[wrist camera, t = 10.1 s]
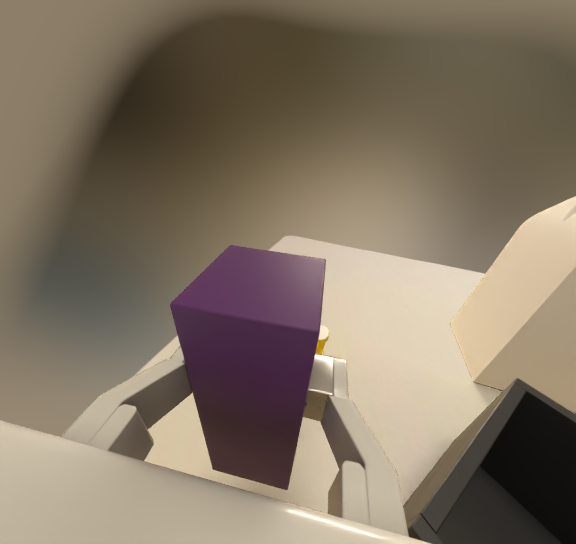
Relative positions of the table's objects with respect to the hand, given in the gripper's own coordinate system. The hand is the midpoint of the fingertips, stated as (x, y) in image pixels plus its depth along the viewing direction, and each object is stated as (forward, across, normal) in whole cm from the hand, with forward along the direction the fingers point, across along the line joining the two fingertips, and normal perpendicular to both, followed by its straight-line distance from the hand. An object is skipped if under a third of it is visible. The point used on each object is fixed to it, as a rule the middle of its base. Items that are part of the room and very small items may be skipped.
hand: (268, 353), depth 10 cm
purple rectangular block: (-1, 0, -6) cm, 6 cm away
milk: (+20, +31, -18) cm, 41 cm away
